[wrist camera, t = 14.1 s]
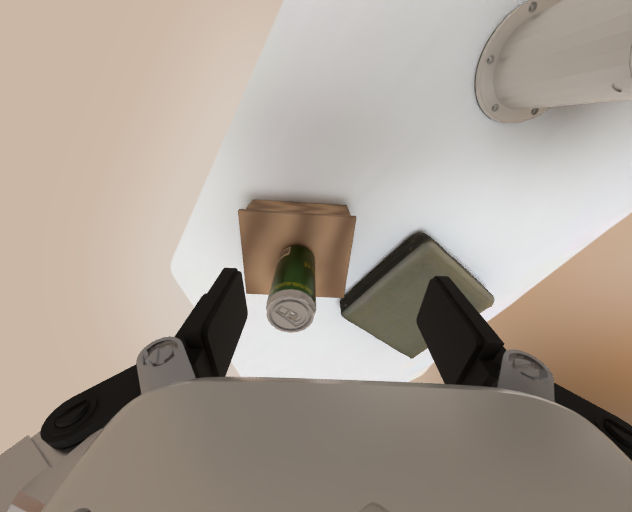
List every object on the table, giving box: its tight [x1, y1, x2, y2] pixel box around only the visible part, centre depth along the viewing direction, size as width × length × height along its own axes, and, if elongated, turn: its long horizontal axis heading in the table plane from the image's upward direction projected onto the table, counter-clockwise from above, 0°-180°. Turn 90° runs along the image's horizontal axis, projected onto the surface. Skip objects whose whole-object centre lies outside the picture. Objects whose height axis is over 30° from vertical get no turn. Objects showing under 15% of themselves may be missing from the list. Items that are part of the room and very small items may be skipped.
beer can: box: [266, 244, 316, 332], centre depth 29 cm, size 5×5×12 cm
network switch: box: [340, 234, 494, 358], centre depth 45 cm, size 23×23×5 cm
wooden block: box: [238, 200, 356, 298], centre depth 38 cm, size 16×14×7 cm
